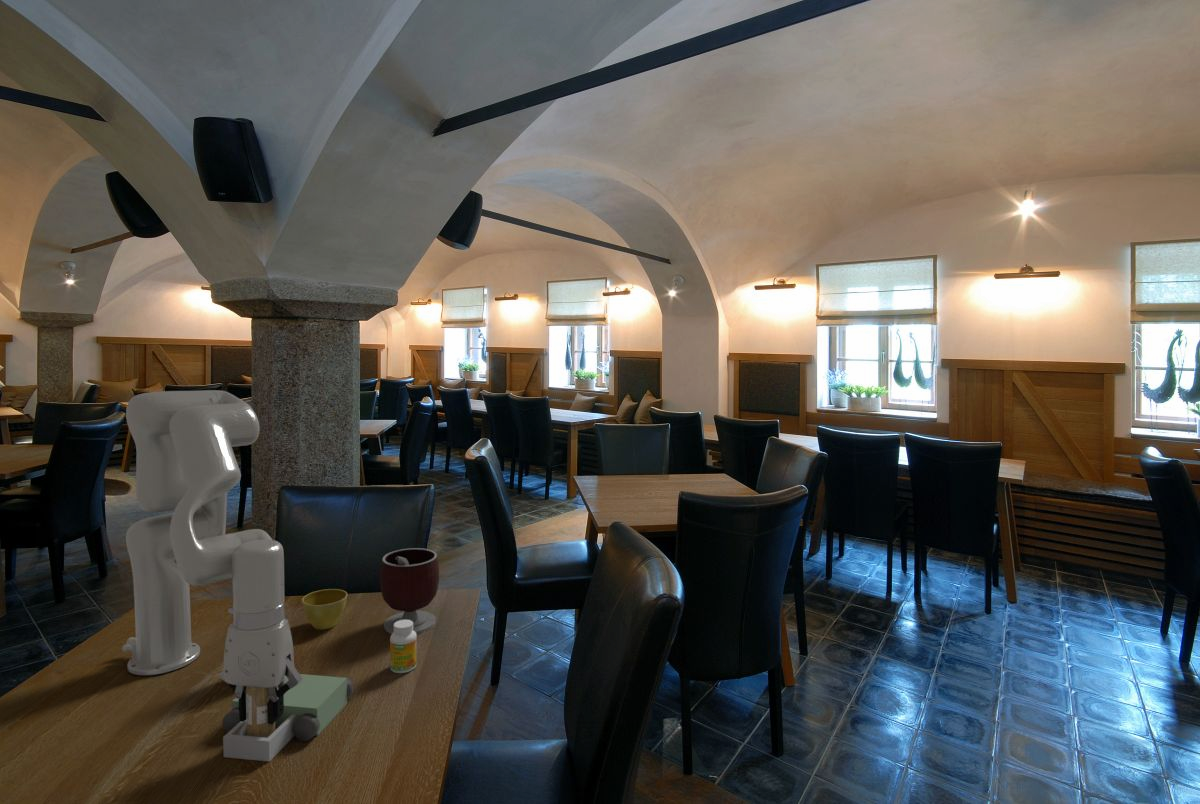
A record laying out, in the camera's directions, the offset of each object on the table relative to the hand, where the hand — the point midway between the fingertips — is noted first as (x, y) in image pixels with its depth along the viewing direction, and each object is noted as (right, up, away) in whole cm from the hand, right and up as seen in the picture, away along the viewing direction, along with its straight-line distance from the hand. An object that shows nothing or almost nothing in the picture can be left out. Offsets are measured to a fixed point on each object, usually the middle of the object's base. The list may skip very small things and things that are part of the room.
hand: (261, 717), depth 103 cm
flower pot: (-9, -1, +45) cm, 46 cm away
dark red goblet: (+11, -1, +46) cm, 47 cm away
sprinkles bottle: (0, -4, 0) cm, 4 cm away
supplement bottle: (+16, -3, +26) cm, 31 cm away
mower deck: (+1, -4, +6) cm, 7 cm away
